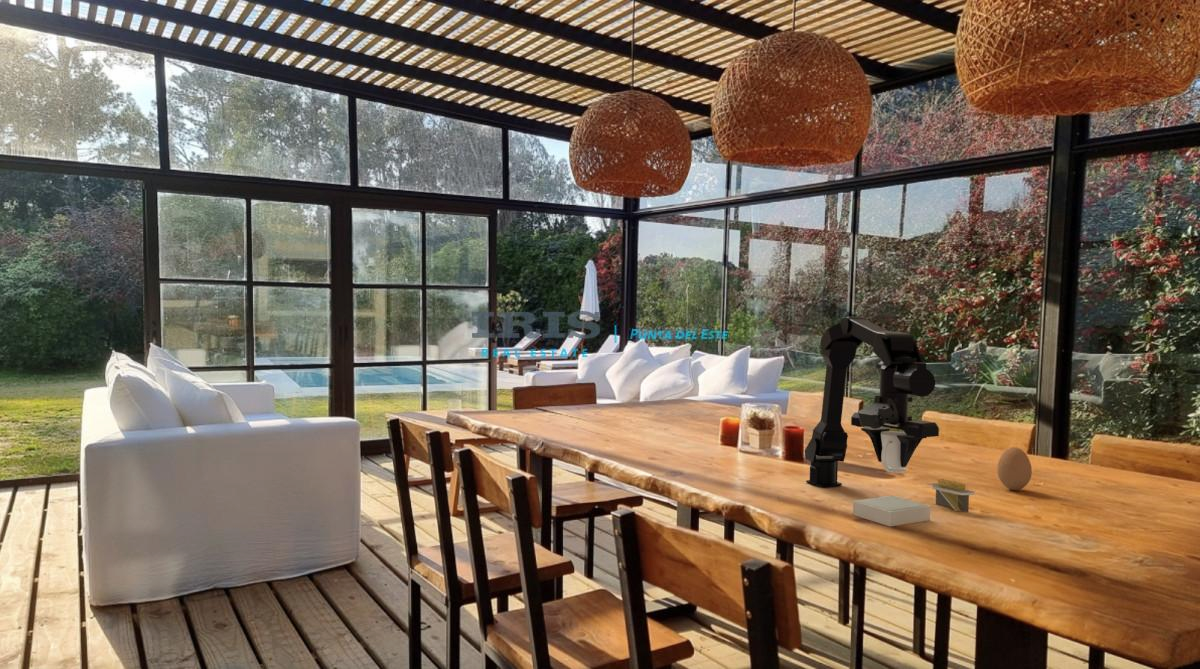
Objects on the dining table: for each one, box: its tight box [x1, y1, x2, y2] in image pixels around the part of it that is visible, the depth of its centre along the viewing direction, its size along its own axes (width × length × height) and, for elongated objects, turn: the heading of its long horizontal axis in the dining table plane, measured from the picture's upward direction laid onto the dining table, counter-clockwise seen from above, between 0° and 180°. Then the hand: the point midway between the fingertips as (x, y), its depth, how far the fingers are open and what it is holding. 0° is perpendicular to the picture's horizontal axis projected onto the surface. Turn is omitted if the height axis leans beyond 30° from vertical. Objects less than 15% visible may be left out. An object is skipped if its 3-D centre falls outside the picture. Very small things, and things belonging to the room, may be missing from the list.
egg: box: [996, 446, 1033, 491], centre depth 187 cm, size 8×8×11 cm
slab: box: [852, 495, 931, 527], centre depth 159 cm, size 12×10×3 cm
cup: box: [881, 430, 908, 474], centre depth 158 cm, size 7×10×8 cm
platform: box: [930, 478, 976, 513], centre depth 167 cm, size 12×18×7 cm, turn 31°
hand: (891, 464), depth 158 cm, fingers closed on cup, 6 cm apart
